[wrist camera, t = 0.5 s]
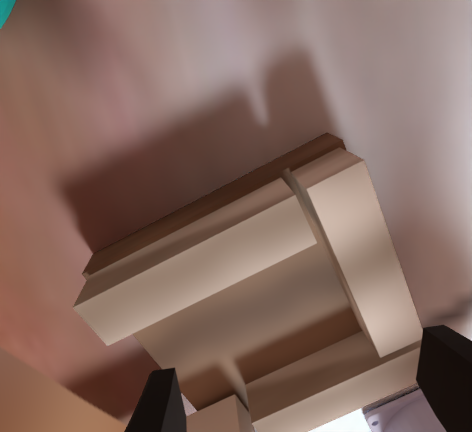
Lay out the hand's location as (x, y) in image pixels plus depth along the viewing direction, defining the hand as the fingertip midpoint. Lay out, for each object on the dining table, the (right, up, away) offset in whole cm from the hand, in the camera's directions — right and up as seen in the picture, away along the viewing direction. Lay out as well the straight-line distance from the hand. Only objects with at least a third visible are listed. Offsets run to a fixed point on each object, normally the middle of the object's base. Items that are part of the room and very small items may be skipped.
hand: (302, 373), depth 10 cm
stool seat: (0, 0, +11) cm, 11 cm away
